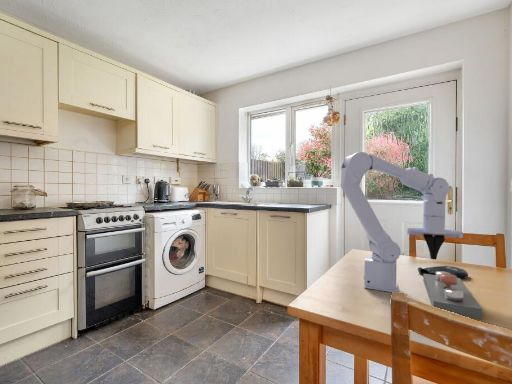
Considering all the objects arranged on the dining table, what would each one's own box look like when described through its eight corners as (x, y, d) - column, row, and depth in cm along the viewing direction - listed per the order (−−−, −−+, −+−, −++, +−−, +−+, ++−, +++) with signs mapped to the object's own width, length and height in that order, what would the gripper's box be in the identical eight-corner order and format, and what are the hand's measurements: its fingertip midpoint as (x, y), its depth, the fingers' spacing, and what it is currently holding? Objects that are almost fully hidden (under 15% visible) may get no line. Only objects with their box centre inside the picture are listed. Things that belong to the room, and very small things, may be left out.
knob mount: (433, 310, 70) (433, 301, 70) (423, 280, 91) (423, 273, 91) (482, 319, 65) (482, 309, 65) (459, 285, 87) (459, 278, 87)
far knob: (436, 286, 84) (436, 274, 84) (434, 282, 88) (434, 270, 88) (452, 288, 83) (452, 276, 82) (449, 284, 86) (449, 272, 86)
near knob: (445, 307, 70) (446, 292, 70) (443, 301, 74) (443, 287, 74) (464, 310, 68) (465, 295, 68) (461, 304, 72) (461, 289, 72)
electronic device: (442, 288, 89) (475, 277, 93) (438, 271, 90) (471, 261, 94) (419, 282, 98) (450, 272, 102) (415, 266, 99) (446, 258, 103)
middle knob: (440, 290, 77) (441, 276, 77) (438, 285, 81) (438, 272, 81) (458, 292, 75) (458, 278, 75) (454, 287, 79) (455, 274, 79)
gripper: (459, 215, 85) (458, 258, 85) (406, 213, 91) (406, 253, 91) (465, 218, 78) (464, 264, 79) (408, 215, 85) (407, 258, 85)
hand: (433, 258), depth 85 cm, fingers closed
